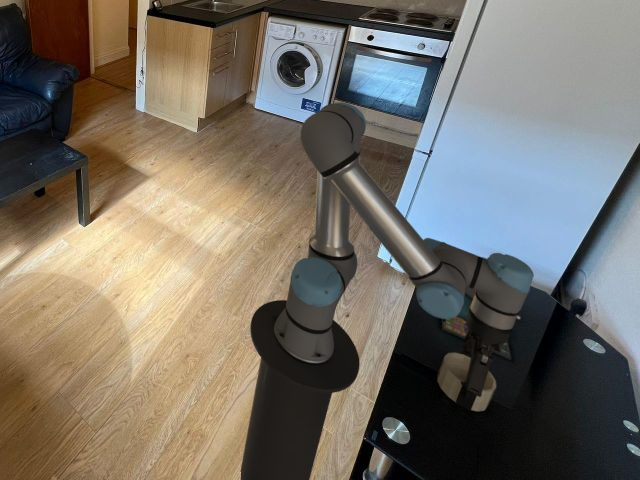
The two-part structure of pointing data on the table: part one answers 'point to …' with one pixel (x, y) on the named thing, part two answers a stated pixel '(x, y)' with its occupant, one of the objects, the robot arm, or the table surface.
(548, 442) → the table surface
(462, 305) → the robot arm
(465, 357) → the bowl
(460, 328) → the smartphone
